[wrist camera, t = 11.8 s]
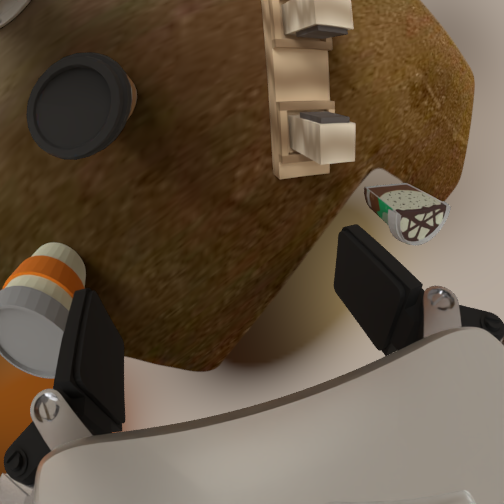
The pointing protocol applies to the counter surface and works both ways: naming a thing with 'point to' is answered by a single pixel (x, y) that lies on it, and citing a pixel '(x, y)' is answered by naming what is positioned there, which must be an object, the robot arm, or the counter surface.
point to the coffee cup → (80, 105)
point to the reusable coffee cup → (39, 308)
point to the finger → (323, 136)
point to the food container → (408, 211)
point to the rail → (299, 70)
